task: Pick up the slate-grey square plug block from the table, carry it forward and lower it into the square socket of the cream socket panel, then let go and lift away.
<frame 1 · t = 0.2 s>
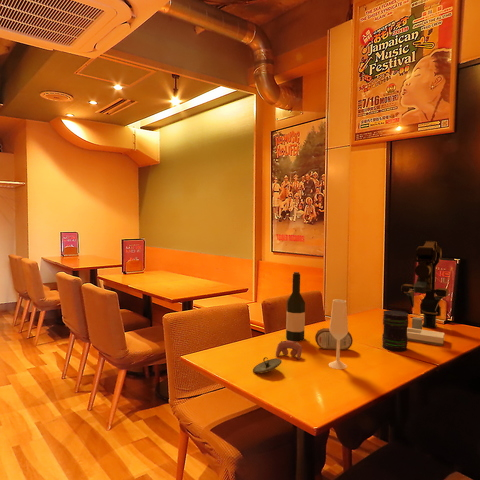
hand: (423, 309, 171), 14 cm above the table, tool pointing down, fingers open, 9 cm apart
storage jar: (394, 348, 160), on the table
tin: (333, 349, 158), on the table
lid: (267, 372, 133), on the table
wine bottle: (295, 339, 171), on the table
cream socket panel: (413, 338, 174), on the table
champagne flute: (337, 366, 139), on the table
plug: (416, 332, 183), on the table
video game controller: (288, 357, 148), on the table
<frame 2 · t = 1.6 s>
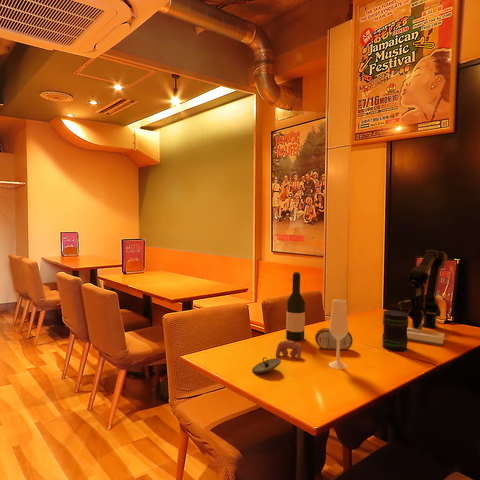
hand: (417, 328, 183), 2 cm above the table, tool pointing down, fingers open, 9 cm apart
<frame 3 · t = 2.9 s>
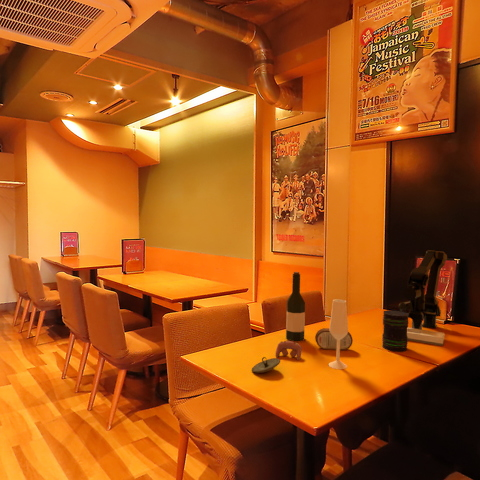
hand: (416, 329, 183), 2 cm above the table, tool pointing down, fingers closed on plug, 4 cm apart
plug: (416, 332, 183), on the table, touching gripper
everything else where it was.
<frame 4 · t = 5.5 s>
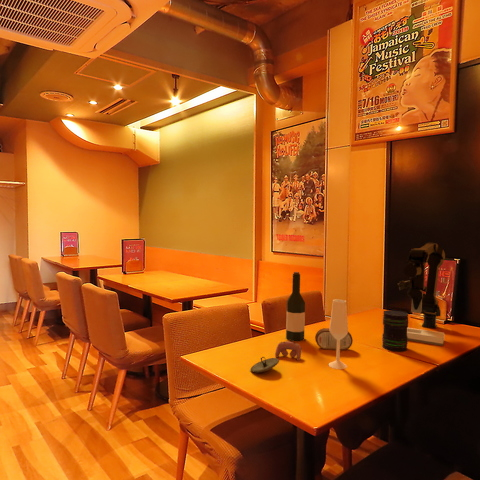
hand: (416, 308, 179), 12 cm above the table, tool pointing down, fingers closed on plug, 4 cm apart
plug: (416, 312, 179), point 11 cm above the table, touching gripper
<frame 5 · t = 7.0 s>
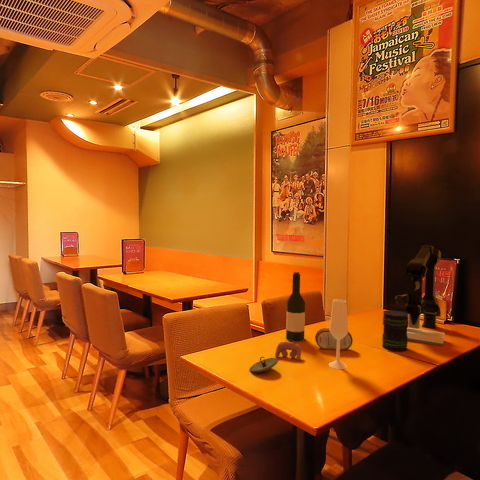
hand: (414, 323, 173), 7 cm above the table, tool pointing down, fingers closed on plug, 4 cm apart
plug: (414, 327, 174), point 5 cm above the table, touching gripper
when the fingers open (4 cm above the table, at t = 8.2 s): plug drops 1 cm, resting on cream socket panel.
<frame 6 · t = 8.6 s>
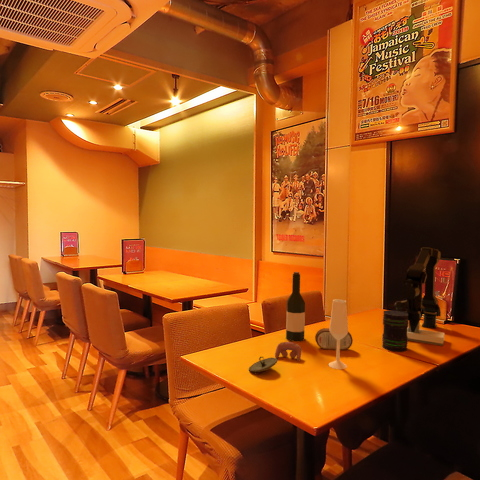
hand: (414, 329, 174), 4 cm above the table, tool pointing down, fingers open, 8 cm apart
plug: (413, 336, 174), point 1 cm above the table, touching cream socket panel
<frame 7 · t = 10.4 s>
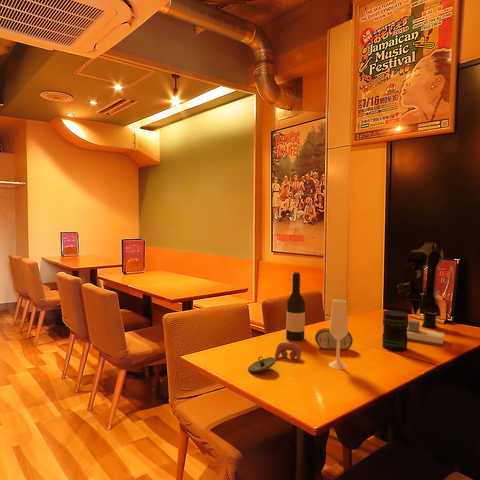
hand: (416, 311, 177), 12 cm above the table, tool pointing down, fingers open, 9 cm apart
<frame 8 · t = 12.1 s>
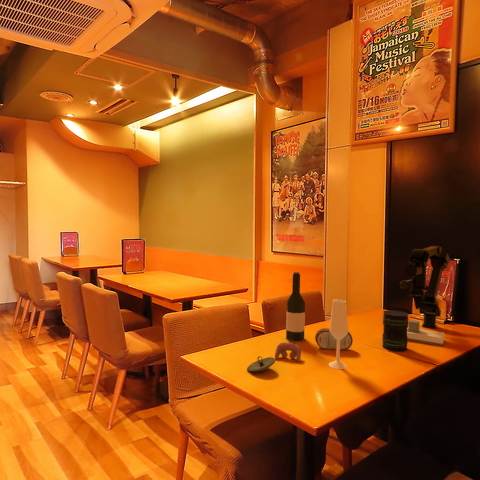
hand: (418, 307, 184), 12 cm above the table, tool pointing down, fingers open, 9 cm apart
at the end: plug 0.0 cm off-centre on the cream socket panel, point 1.0 cm above the cream socket panel's base; plug tilted 0°; the gripper is holding nothing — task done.
